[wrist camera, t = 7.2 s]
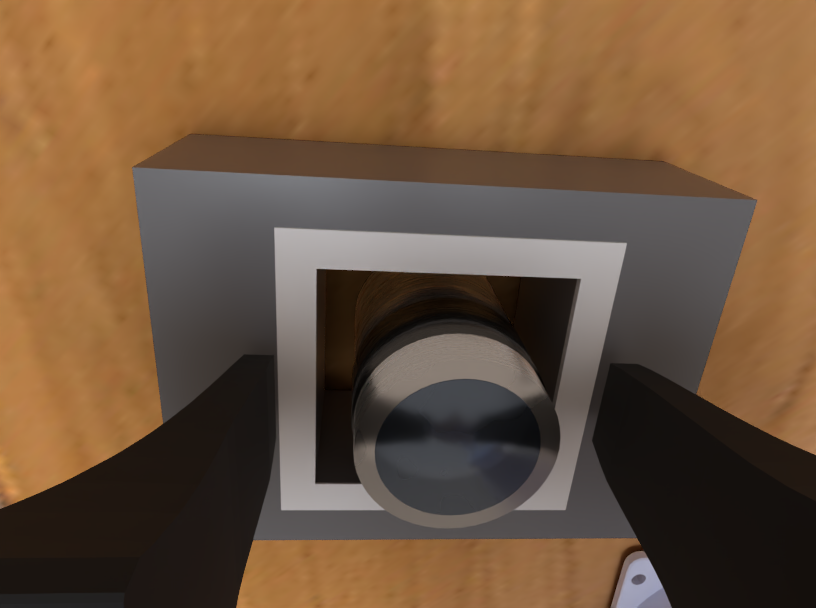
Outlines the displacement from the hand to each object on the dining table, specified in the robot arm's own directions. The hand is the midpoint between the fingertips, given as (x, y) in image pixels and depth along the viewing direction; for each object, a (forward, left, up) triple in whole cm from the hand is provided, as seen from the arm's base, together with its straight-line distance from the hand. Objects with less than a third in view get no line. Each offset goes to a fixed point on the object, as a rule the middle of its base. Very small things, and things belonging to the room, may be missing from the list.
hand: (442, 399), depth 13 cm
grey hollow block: (0, 0, -4) cm, 4 cm away
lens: (0, 0, -4) cm, 5 cm away
